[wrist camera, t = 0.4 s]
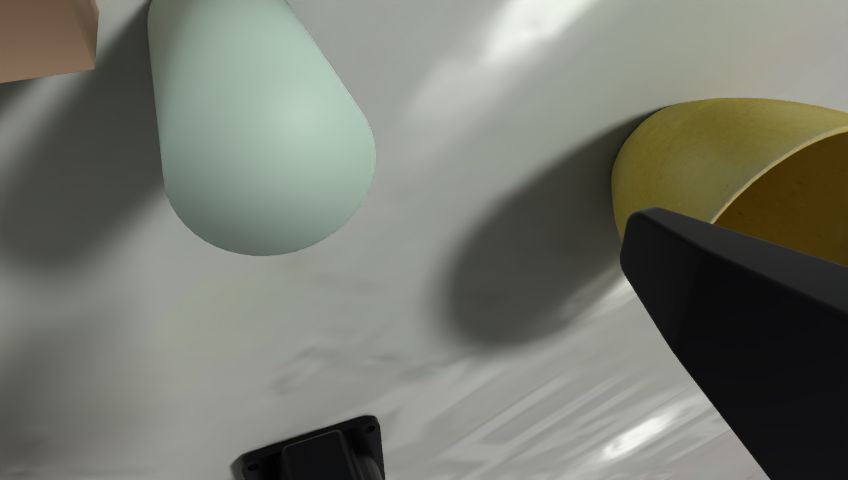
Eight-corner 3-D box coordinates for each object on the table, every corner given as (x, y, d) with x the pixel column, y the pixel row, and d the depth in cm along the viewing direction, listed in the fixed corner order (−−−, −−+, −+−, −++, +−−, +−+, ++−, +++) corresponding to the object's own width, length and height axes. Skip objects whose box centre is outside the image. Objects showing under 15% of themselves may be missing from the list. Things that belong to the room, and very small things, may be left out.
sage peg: (302, 87, 20) (381, 230, 14) (168, 109, 19) (192, 276, 13) (283, -50, 17) (369, 54, 11) (127, -33, 16) (134, 91, 10)
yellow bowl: (733, 215, 32) (856, 307, 27) (555, 279, 30) (650, 393, 24) (784, 17, 25) (960, 87, 20) (562, 81, 23) (693, 178, 18)
